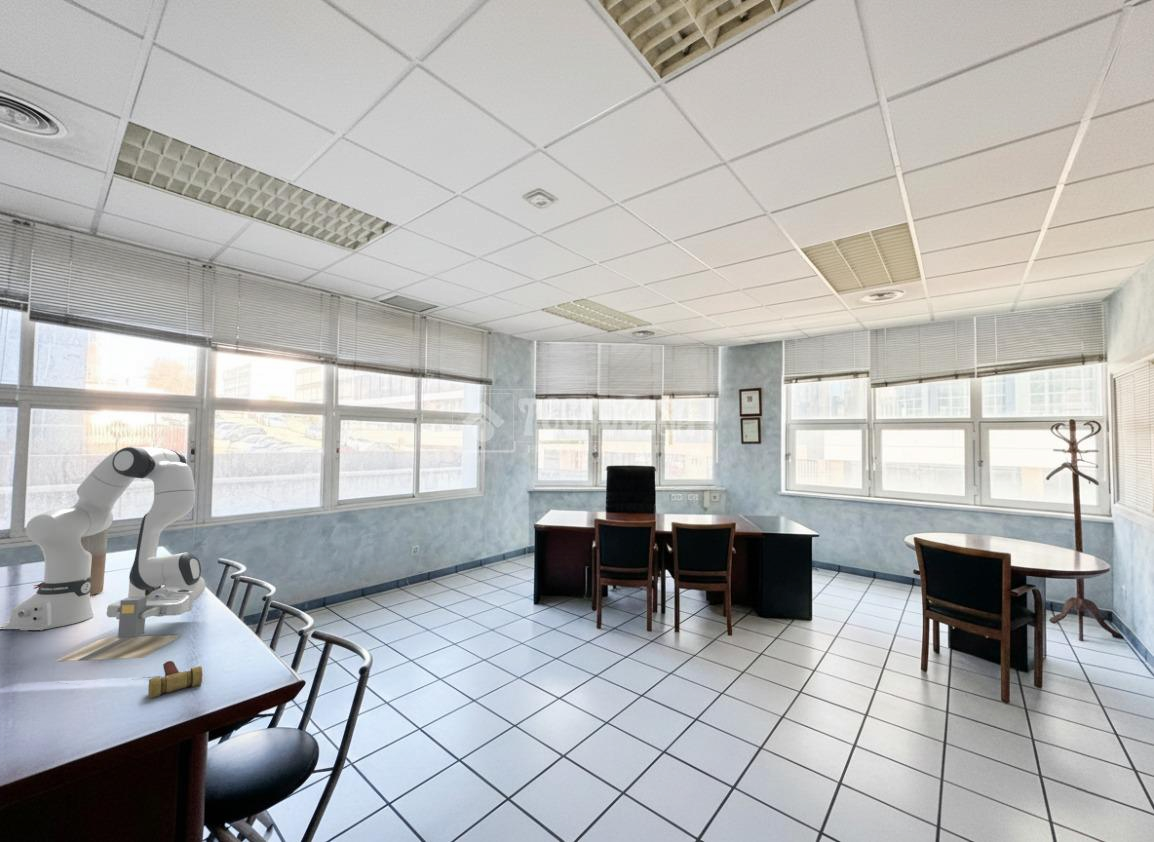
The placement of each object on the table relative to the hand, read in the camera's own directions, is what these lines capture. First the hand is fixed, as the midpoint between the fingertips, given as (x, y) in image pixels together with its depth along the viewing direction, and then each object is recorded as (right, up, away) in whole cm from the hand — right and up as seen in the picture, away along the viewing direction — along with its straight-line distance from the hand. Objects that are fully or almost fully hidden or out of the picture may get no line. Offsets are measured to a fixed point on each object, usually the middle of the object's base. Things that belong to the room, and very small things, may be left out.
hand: (130, 616), depth 138 cm
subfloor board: (-2, -11, 0) cm, 11 cm away
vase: (-68, -13, +52) cm, 87 cm away
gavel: (+25, -11, -15) cm, 31 cm away
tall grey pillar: (0, -6, 0) cm, 6 cm away
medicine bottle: (-44, -13, +52) cm, 69 cm away
